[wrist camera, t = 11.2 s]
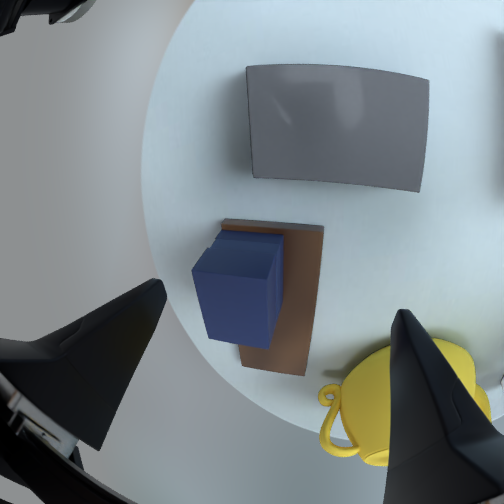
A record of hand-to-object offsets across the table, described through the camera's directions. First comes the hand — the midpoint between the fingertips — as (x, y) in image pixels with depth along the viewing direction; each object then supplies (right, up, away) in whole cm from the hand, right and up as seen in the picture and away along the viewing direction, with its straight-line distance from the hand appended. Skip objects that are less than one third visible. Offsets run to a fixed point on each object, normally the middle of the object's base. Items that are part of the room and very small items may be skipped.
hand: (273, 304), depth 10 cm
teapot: (+20, -13, +18) cm, 30 cm away
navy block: (-1, -1, +11) cm, 11 cm away
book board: (+1, -4, +17) cm, 18 cm away
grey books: (+5, +11, +6) cm, 13 cm away
